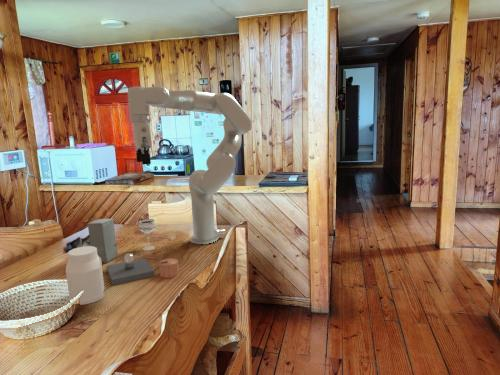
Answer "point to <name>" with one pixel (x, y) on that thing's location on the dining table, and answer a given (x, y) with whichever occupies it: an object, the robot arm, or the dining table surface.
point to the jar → (85, 274)
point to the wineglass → (147, 230)
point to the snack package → (78, 243)
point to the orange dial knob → (168, 268)
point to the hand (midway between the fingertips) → (143, 162)
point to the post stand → (129, 270)
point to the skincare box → (103, 238)
